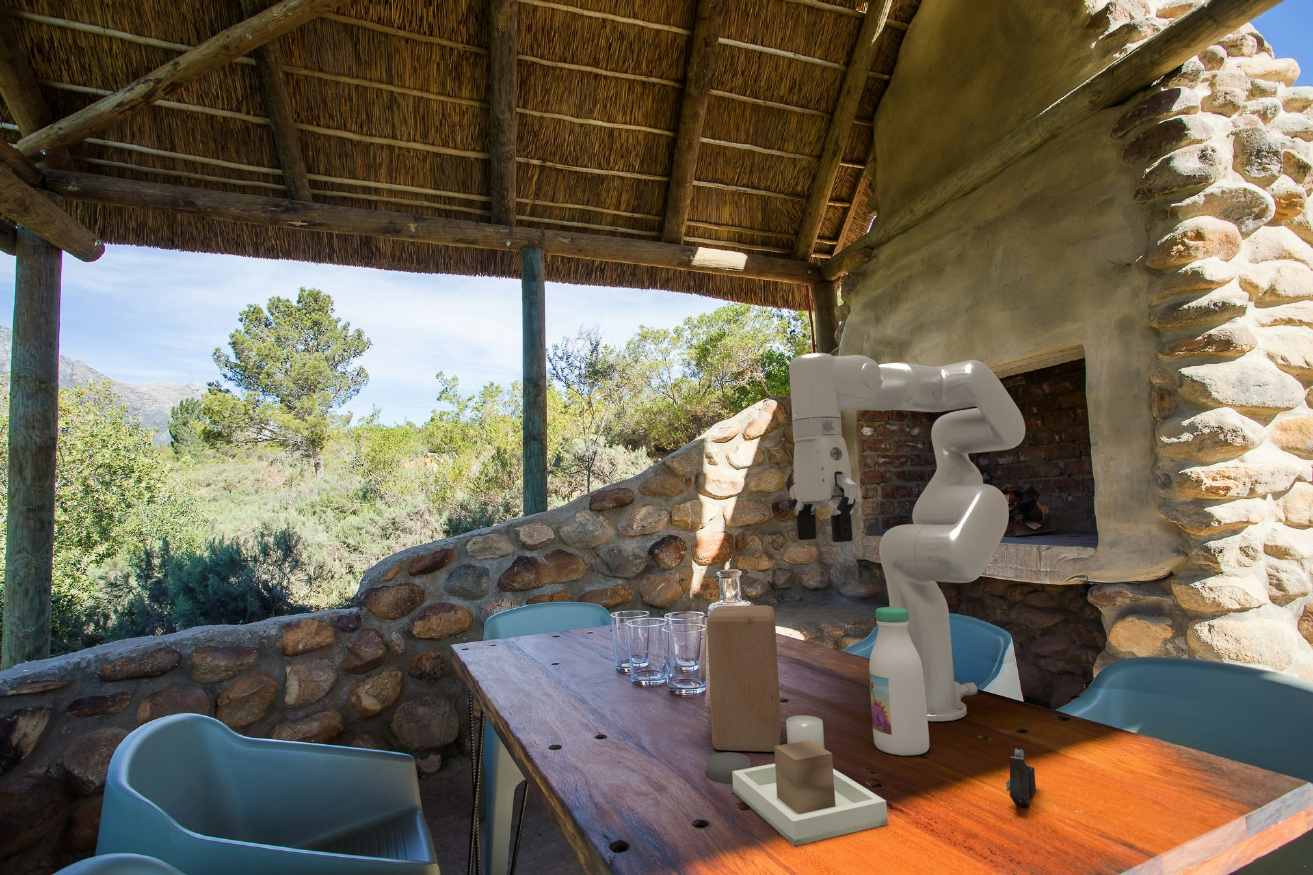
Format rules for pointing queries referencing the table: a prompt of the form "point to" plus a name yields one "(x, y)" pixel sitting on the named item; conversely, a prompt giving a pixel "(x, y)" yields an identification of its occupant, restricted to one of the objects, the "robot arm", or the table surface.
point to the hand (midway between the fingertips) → (824, 540)
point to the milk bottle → (897, 687)
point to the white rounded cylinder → (805, 729)
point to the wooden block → (744, 678)
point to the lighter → (1020, 780)
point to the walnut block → (804, 776)
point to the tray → (848, 815)
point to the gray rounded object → (726, 766)
